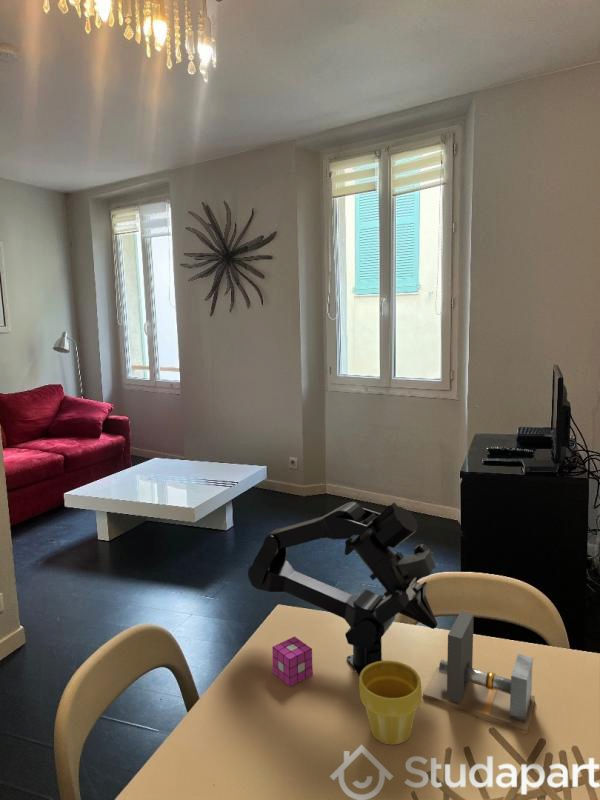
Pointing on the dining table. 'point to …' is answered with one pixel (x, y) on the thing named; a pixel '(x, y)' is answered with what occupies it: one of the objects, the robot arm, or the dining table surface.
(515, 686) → the metal rod with plate
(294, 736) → the dining table surface
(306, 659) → the puzzle toy
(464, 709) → the clear base plate
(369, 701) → the yellow cup
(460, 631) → the grey flat slab
